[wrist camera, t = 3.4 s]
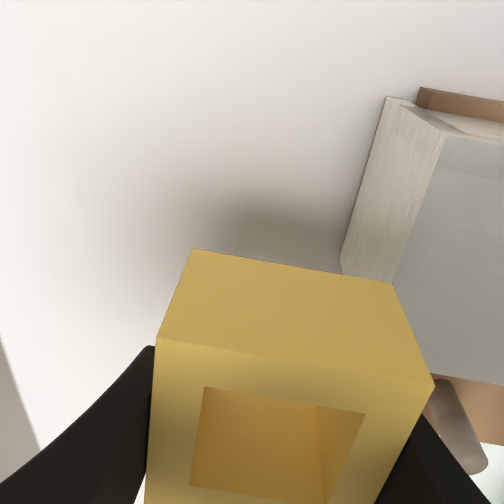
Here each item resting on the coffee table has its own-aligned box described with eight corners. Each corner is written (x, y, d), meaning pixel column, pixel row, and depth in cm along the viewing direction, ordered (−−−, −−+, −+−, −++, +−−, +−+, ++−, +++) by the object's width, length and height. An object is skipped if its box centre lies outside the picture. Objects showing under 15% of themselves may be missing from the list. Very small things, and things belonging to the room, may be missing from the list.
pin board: (681, 134, 16) (856, 179, 11) (498, 423, 23) (554, 526, 18) (420, 87, 16) (480, 111, 11) (320, 392, 23) (329, 488, 18)
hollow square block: (392, 283, 11) (435, 385, 8) (338, 420, 13) (355, 538, 10) (192, 248, 11) (156, 337, 8) (176, 392, 13) (143, 503, 10)
